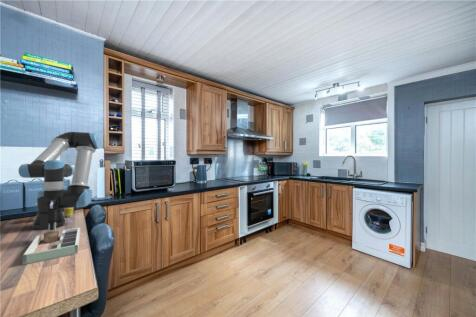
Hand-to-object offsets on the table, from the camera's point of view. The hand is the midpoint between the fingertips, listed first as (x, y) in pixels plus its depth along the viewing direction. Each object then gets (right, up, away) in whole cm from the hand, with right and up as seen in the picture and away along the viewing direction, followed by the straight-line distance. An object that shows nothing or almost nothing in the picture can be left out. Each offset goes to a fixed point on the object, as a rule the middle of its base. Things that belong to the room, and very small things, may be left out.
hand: (51, 235), depth 102 cm
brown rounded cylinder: (+2, -2, -3) cm, 4 cm away
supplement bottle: (-28, -3, +43) cm, 51 cm away
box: (+11, -2, -9) cm, 15 cm away
